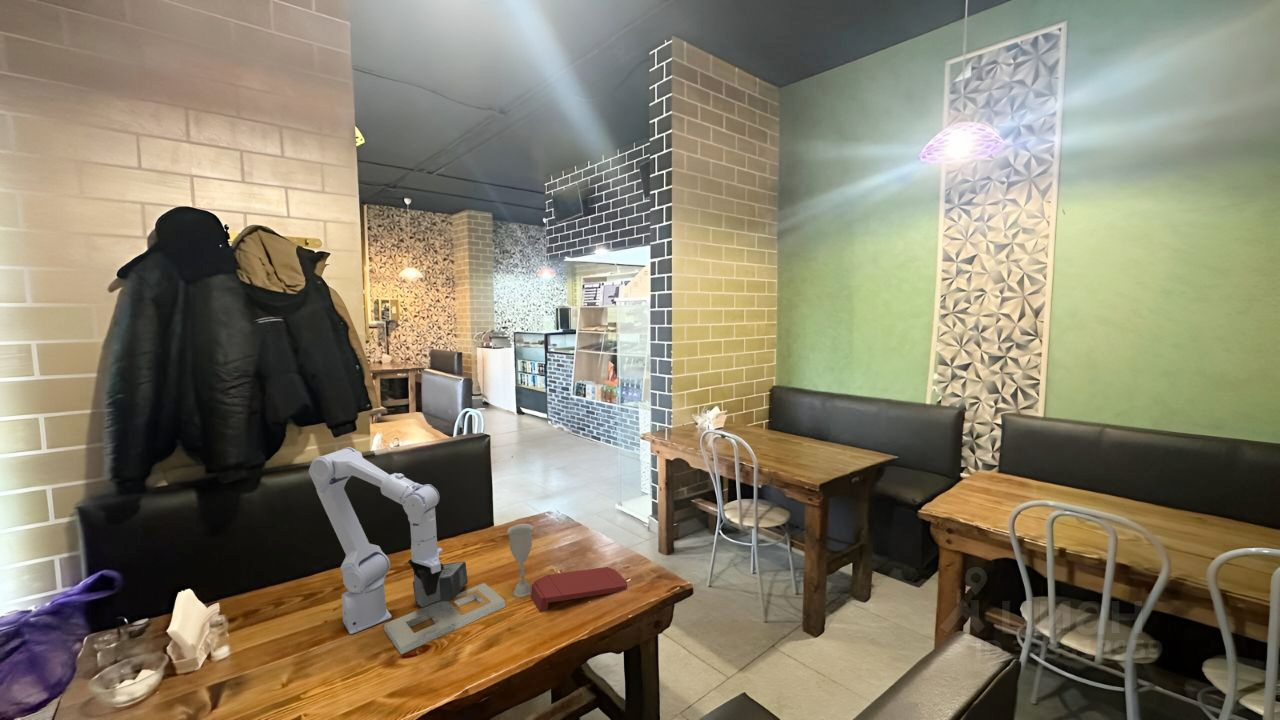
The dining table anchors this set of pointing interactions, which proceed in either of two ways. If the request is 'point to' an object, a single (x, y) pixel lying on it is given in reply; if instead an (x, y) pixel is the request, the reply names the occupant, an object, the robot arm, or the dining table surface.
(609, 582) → the carton
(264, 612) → the dining table surface
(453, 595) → the small box
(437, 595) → the post
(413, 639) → the rail plate
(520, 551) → the chalice
